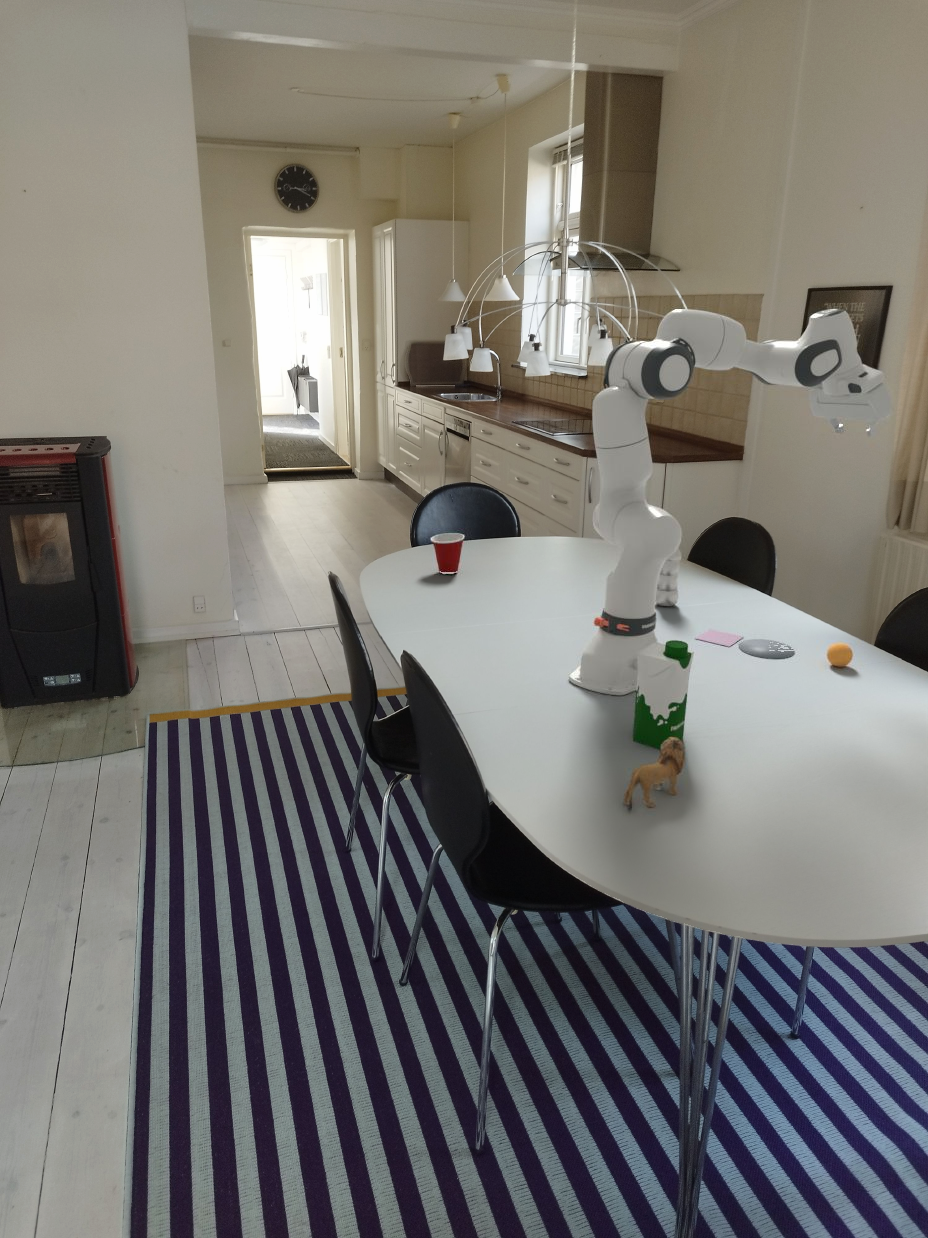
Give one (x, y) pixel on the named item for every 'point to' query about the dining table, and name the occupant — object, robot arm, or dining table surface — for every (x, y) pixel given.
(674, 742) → the lion figurine
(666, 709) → the milk carton
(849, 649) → the ball
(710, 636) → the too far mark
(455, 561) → the plastic cup
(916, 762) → the dining table surface
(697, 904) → the dining table surface
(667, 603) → the plastic bottle
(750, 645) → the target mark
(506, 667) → the dining table surface
